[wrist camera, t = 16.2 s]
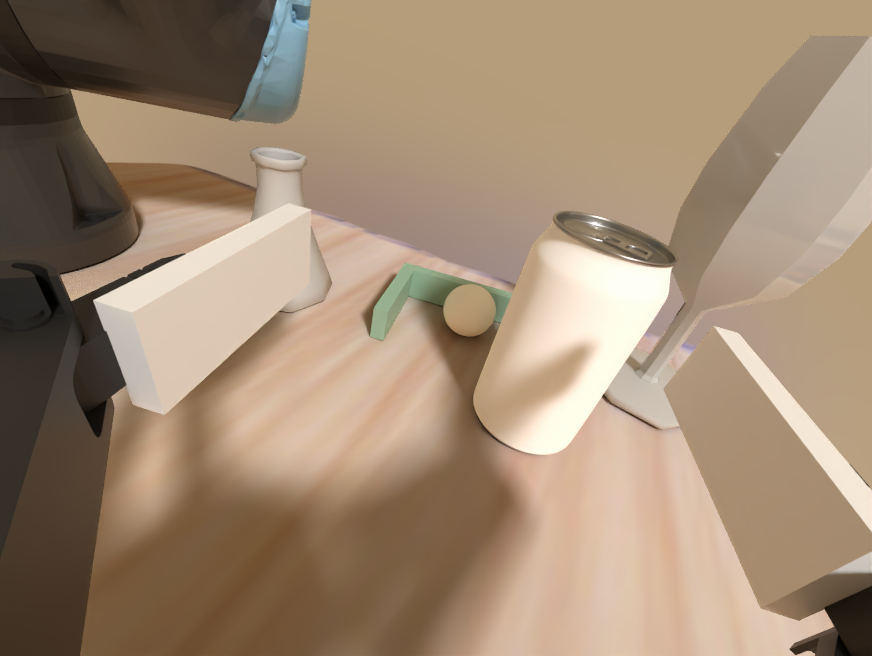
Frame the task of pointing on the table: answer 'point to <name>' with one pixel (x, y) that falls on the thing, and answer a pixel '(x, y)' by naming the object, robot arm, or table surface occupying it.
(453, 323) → the ball
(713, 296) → the wineglass
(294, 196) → the flask
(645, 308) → the can
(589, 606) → the table surface
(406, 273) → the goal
